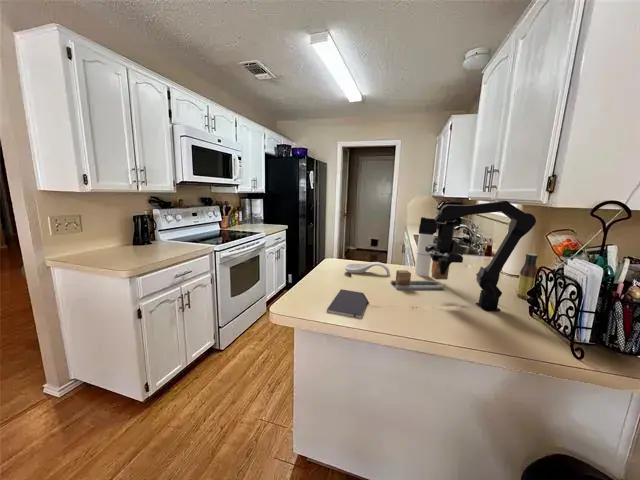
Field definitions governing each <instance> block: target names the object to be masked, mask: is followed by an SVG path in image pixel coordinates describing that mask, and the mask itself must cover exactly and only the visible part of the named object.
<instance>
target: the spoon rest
mask: <svg viewBox="0 0 640 480" xmlns="http://www.w3.org/2000/svg"><path fill="white" fill-rule="evenodd" d="M375 266H379V267H381V268H383V269H385V271H386V275H387V276H389V277H390V276H391V275H390V274H391V272H390V269H389V267H388V266H387V265H386V264H385V263H382V262H380V261H372V262H366V263H365V262H364V263H350V264H346V265H345V266H344V267H343V268H344V269H345V271H346V272H347V273H348V274H351V273H352V274H364V273H365V272H367V271H368V270H370V268H372V267H375Z"/></svg>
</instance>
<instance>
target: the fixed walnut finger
mask: <svg viewBox="0 0 640 480" xmlns="http://www.w3.org/2000/svg"><path fill="white" fill-rule="evenodd" d="M395 272H396V273H395V280H396V282H395V285H409V283H410V281H411V279H412V278H411V277H412V273H411V272H410V271H409V270H407V269H405V270H403V269H401V270H400V269H397V270H396V271H395Z"/></svg>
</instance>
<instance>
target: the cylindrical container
mask: <svg viewBox="0 0 640 480" xmlns="http://www.w3.org/2000/svg"><path fill="white" fill-rule="evenodd" d="M434 236H435V233H433V235H428V234H419V233H418V241H417V248H416V256H415V257H416V258H415V265H414V275H416V276H420V277H429V275H430V271H431V269H430V268H431V262H432V261H431V260H432V258H431V256H430V254H431V253H432V251H430V252H427V251H425V248H426V246H427V245H434V240H435V237H434Z"/></svg>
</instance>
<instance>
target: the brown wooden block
mask: <svg viewBox="0 0 640 480" xmlns="http://www.w3.org/2000/svg"><path fill="white" fill-rule="evenodd" d="M449 270H450V266H449V267H448V268H447V270H446V272H445V274H444V275H441V272H440V266H439V261H434V262H433V261H432V264H431V270H430V271H431V277H432V278H433V279H434V280H447V281H448V278H449V277H448V276H449V272H450V271H449Z"/></svg>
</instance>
